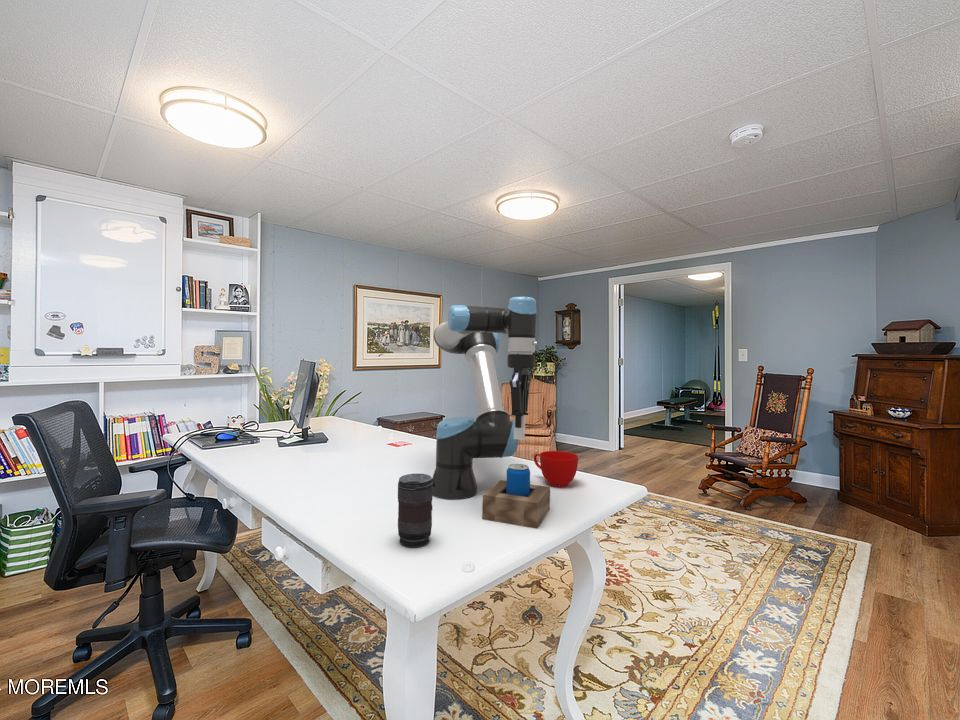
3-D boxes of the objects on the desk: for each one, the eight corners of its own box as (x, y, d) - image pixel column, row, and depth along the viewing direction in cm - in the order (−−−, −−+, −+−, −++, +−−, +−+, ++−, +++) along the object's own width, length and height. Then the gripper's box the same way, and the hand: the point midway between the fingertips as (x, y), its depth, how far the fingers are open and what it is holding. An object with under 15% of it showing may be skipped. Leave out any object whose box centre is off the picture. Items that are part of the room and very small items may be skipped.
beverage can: (531, 507, 123) (532, 464, 123) (526, 515, 117) (527, 470, 117) (509, 504, 125) (510, 462, 125) (502, 511, 119) (504, 467, 119)
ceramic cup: (544, 474, 162) (545, 447, 162) (584, 484, 151) (585, 455, 150) (522, 480, 153) (523, 452, 153) (563, 492, 141) (564, 461, 141)
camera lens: (398, 534, 106) (399, 472, 106) (432, 534, 107) (433, 472, 106) (394, 549, 98) (396, 482, 98) (431, 548, 99) (432, 482, 98)
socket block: (482, 519, 117) (482, 494, 117) (500, 501, 131) (500, 480, 131) (536, 528, 112) (537, 503, 111) (549, 509, 126) (550, 486, 125)
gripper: (528, 353, 113) (526, 444, 113) (540, 354, 125) (538, 436, 126) (500, 353, 116) (498, 441, 116) (515, 353, 128) (513, 434, 128)
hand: (519, 438), depth 121 cm, fingers closed
